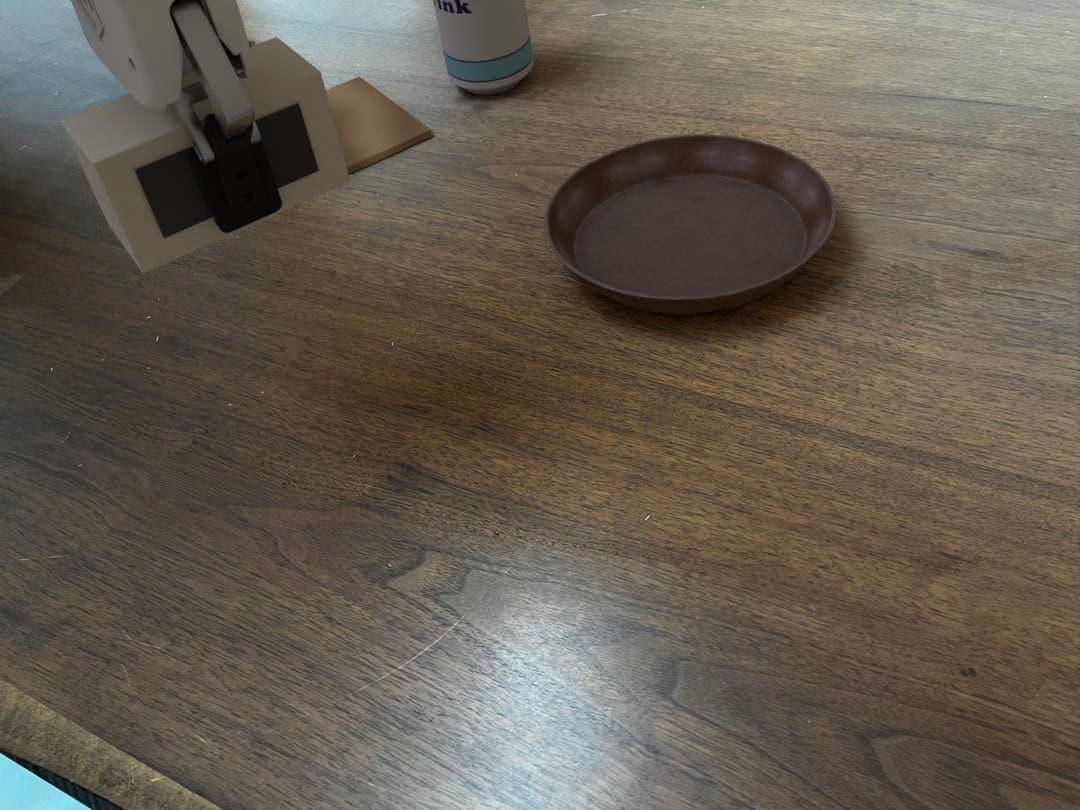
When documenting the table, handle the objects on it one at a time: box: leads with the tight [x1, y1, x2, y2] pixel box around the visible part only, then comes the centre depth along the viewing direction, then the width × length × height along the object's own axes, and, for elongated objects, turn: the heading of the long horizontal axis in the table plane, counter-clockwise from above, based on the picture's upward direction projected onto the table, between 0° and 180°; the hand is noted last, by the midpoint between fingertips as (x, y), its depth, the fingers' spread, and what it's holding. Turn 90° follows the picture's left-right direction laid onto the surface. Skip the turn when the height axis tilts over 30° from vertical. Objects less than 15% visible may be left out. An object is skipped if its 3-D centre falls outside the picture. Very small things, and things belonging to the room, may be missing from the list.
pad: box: [325, 76, 433, 175], centre depth 84 cm, size 12×12×1 cm
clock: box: [59, 36, 351, 274], centre depth 52 cm, size 11×5×6 cm, turn 124°
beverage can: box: [432, 0, 534, 96], centre depth 83 cm, size 7×7×12 cm
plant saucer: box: [544, 133, 837, 315], centre depth 68 cm, size 18×18×3 cm
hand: (226, 189), depth 53 cm, fingers closed on clock, 5 cm apart
